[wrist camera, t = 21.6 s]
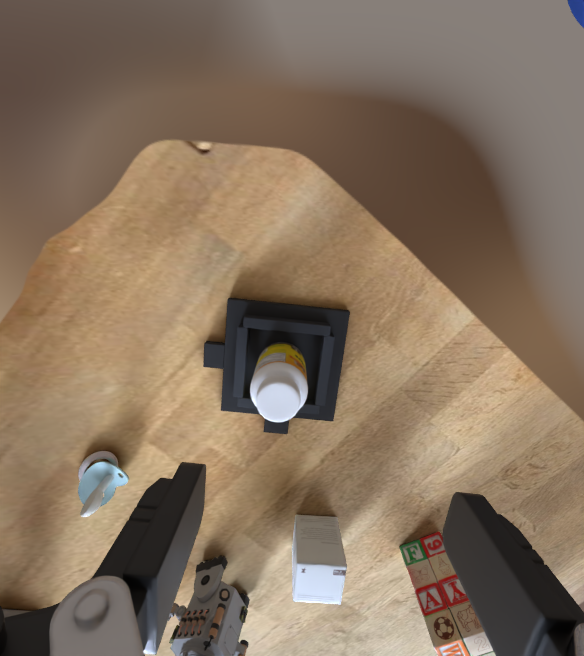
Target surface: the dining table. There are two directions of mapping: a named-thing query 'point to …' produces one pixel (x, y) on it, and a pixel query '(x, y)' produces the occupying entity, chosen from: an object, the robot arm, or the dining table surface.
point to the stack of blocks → (444, 600)
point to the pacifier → (99, 481)
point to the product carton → (317, 560)
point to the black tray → (272, 327)
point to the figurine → (210, 616)
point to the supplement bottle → (279, 382)
